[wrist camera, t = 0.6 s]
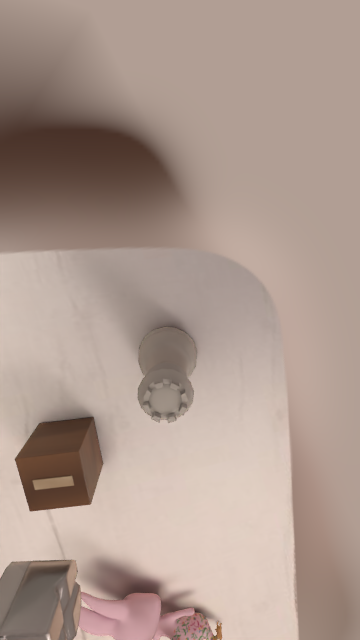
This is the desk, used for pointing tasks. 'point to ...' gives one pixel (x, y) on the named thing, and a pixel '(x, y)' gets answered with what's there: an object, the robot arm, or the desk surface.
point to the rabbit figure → (142, 619)
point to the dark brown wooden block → (60, 464)
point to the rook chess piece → (166, 373)
